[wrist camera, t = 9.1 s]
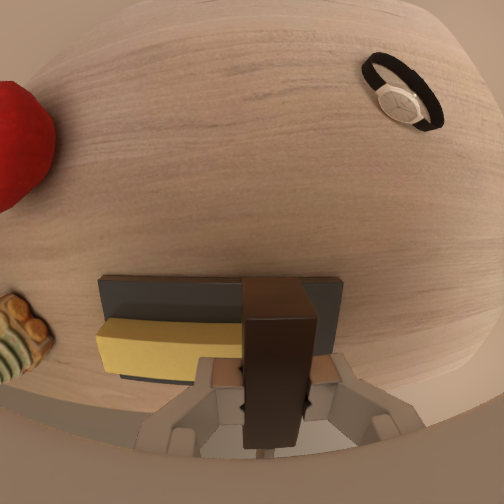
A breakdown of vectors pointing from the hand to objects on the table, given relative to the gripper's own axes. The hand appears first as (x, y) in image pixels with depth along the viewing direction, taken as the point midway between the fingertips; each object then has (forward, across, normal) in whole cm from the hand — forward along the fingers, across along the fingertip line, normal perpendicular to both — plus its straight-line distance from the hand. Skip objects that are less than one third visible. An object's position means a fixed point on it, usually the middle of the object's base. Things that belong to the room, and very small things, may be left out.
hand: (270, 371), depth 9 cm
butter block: (+11, +6, +6) cm, 14 cm away
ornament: (+13, +24, +7) cm, 28 cm away
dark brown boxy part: (+2, 0, +3) cm, 3 cm away
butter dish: (+12, +3, +6) cm, 14 cm away
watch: (+12, -11, -14) cm, 22 cm away
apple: (+13, +19, -10) cm, 25 cm away
